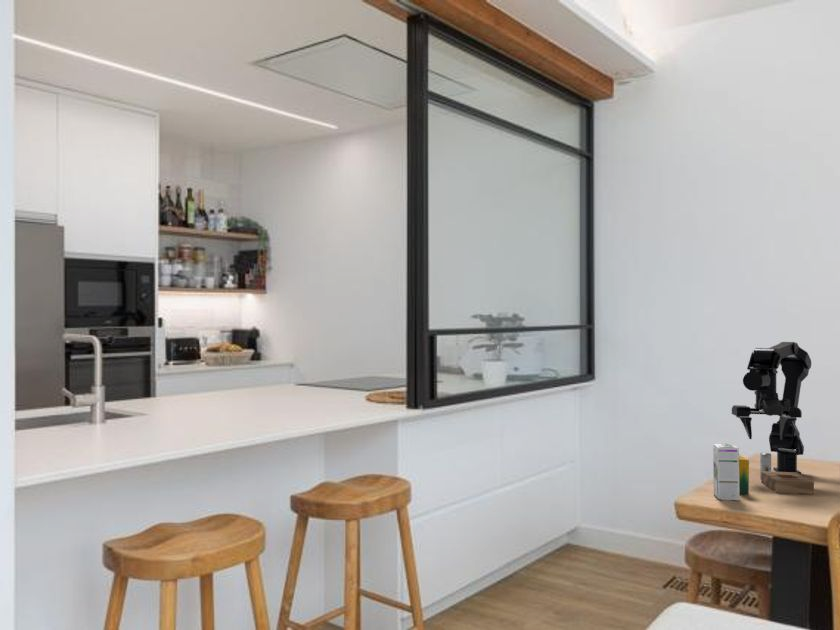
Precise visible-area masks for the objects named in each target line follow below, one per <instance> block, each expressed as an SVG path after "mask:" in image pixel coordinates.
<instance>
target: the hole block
mask: <svg viewBox="0 0 840 630" xmlns="http://www.w3.org/2000/svg"><path fill="white" fill-rule="evenodd" d="M760 483H761V484H762V485H764V486H765V487H767V488H768V489H770V490H772V491H773V492H774V491H775V493H776V494H797V493H807V494H806V495H814V494H815V481H814V480H811V479H810V478H808V477H806V476H804V475H802V474H798V473H797V472H778V471H771V472H763V471H761V479H760Z"/></svg>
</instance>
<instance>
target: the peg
mask: <svg viewBox="0 0 840 630" xmlns="http://www.w3.org/2000/svg"><path fill="white" fill-rule="evenodd" d="M759 457H760V463H759V464H760V473H759V474H760V476H759V477H760V480H761V471H763V472H772V453H771V452H770V453H769V452H761V453H760V455H759Z"/></svg>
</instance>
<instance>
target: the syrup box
mask: <svg viewBox="0 0 840 630" xmlns="http://www.w3.org/2000/svg"><path fill="white" fill-rule="evenodd" d="M712 445H713V447H712V451H713V452H712V453H713V454H712V455H713V458H712V459H713V461H712V462H713V464H712V465H713V496H715V497H716V499H717V500H719V499H721V500H722V501H731V500H737V502H739V501H740V494H739V456H740V450H739V447H738V446H736V445H735V444H733V443H713V444H712Z"/></svg>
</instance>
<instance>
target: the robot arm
mask: <svg viewBox="0 0 840 630" xmlns="http://www.w3.org/2000/svg"><path fill="white" fill-rule="evenodd" d="M779 367H781V371H782V374H783V376H784V378H785V379H784V385H783V393H782V398H781V399H779V393H778V392H777V374H778V372H779V371H778V370H777V369H779ZM811 367H812V359H811V357H810V355H809V353H808V351H806V350H805V349H803V348H801V347H800V346H799V344H798V342H795V341H781V342H779V343H778V344H775V345H772V346H771V347H755V348H754V349H753V350H752V352H751V355H750V358H749V361H748V364H747V367H746V370H747V371H748V372H746V373H745V374H744V376H743V378H742V384H743V386H744V387H745V388H746V389H747V390H749V391H753V392H754V395H755V403H754V407H752V408H751V407H750V406H747V405H739V404H738V405H733V406H732V407H731V415H734V416H735V417H736V418H738V419H739V420H740V421H741V423H742V425H743V427H744V429H745V432H746V434H747V437H748V439H749V440H752V438H753V434H752V417H751V416H750V415H766V416H770V417H771V416H779V419H778V420H777V422H773V423H772V424H771V430H770V434H769V436H768V441H769V449H770V453H771V452H772V453H773V452H775V453H776V467H772V470H774V471H775V472H797V473H798V474H800V475H802V471H800V470H798V456H800V455H801V456H803V455H804V452H805V445H804V444H803V441H802V439H801V436H800V431H799V429H798V427H797V425H796V422H797V418H799V419H800V418H802V417H803V415H802V410H801V408H799V401H800V394H801V387H802V382H804V380H805V379H806V378H807V377H808V376H809V371H810V369H811Z"/></svg>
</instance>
